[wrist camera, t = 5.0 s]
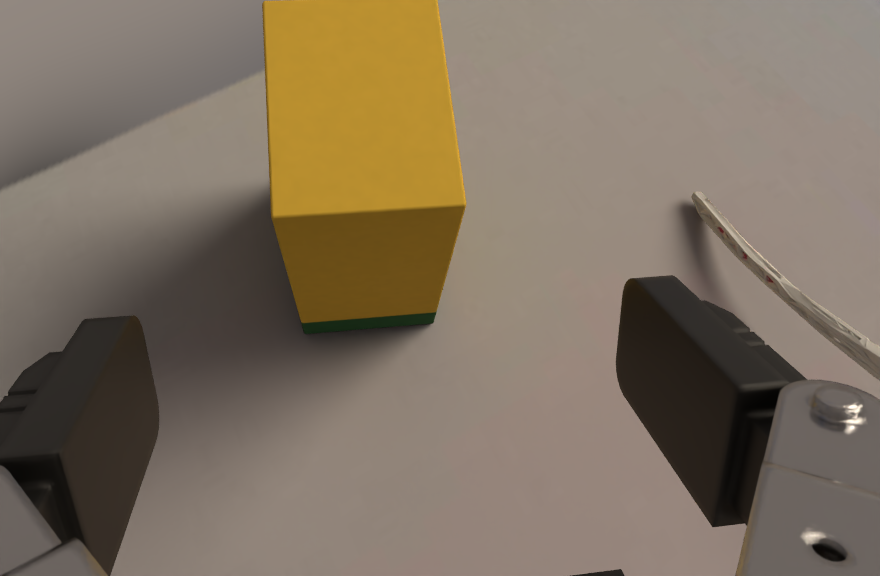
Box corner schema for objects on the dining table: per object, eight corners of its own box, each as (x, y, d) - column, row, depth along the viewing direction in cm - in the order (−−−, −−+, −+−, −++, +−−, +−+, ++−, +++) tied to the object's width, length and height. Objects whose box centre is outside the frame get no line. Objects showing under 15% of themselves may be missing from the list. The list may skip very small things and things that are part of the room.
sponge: (304, 334, 24) (270, 218, 16) (295, 176, 26) (261, -1, 18) (433, 323, 25) (466, 205, 17) (415, 170, 27) (437, -6, 19)
